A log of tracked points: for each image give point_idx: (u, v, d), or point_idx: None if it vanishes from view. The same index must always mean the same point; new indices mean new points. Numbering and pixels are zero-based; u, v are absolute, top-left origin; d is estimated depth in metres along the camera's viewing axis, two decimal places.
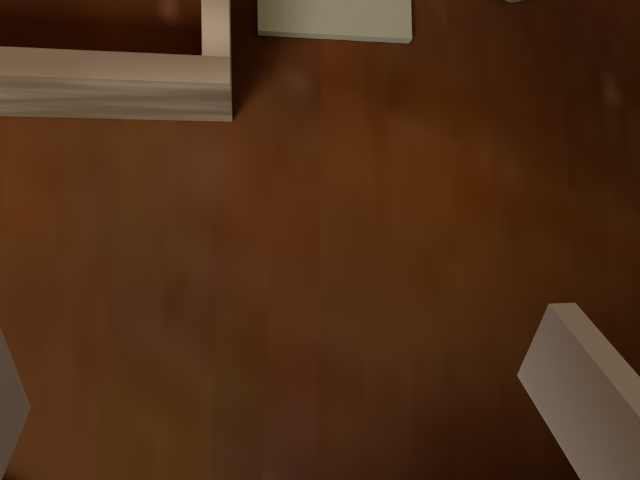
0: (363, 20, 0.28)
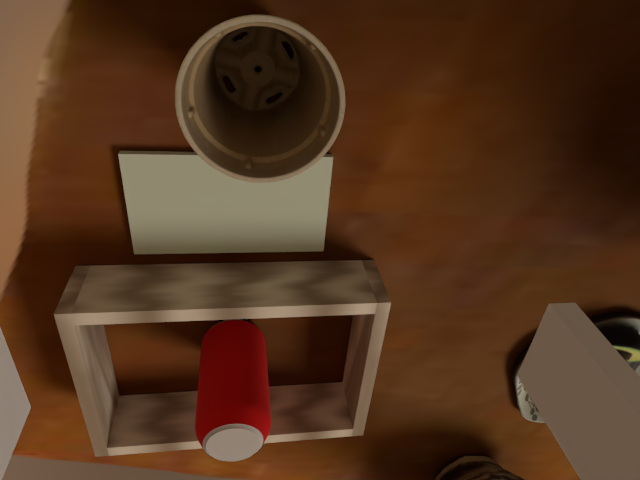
0: (318, 190, 0.40)
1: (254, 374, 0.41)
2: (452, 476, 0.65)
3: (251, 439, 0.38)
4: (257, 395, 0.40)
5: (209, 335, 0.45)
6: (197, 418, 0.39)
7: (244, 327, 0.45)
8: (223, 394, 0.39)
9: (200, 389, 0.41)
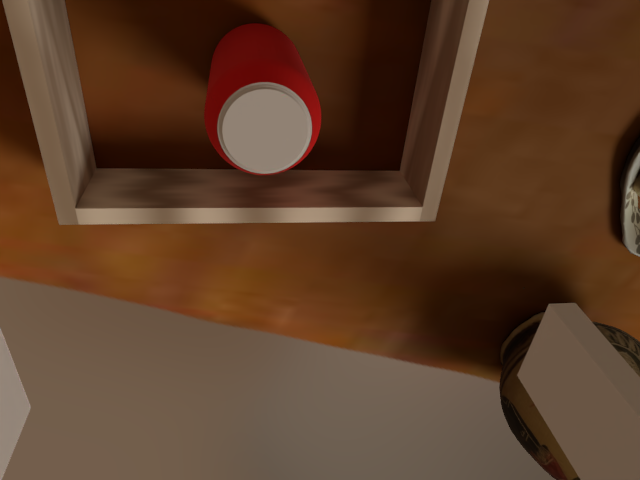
0: None
1: (294, 57, 0.27)
2: (527, 334, 0.51)
3: (294, 122, 0.24)
4: (301, 69, 0.25)
5: (223, 39, 0.31)
6: (208, 94, 0.25)
7: (274, 29, 0.31)
8: (248, 56, 0.25)
9: (212, 75, 0.27)
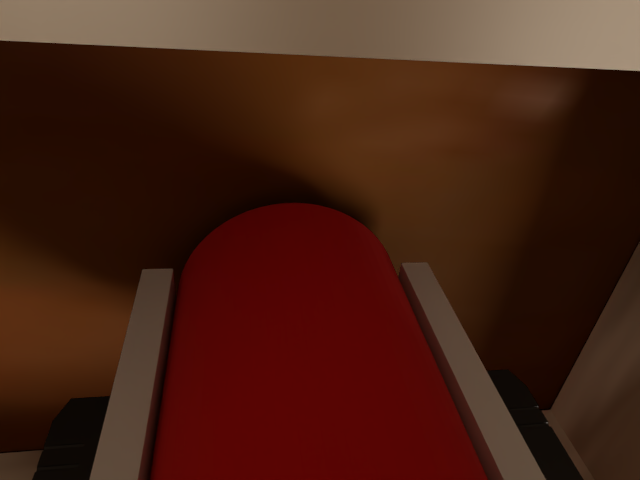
0: None
1: (440, 418, 0.08)
2: None
3: None
4: None
5: (205, 255, 0.12)
6: None
7: (338, 224, 0.12)
8: None
9: None
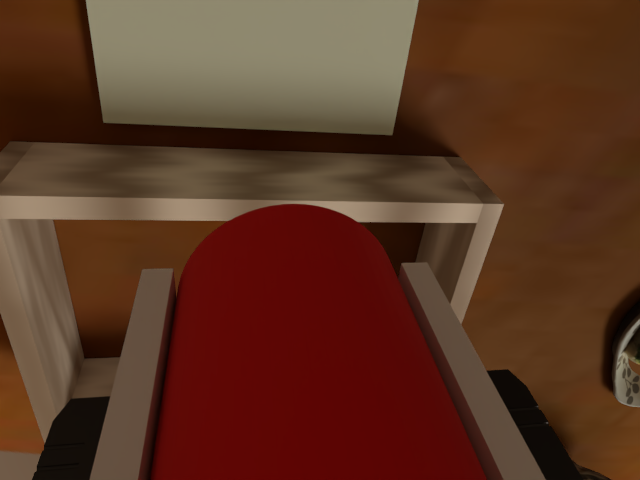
0: (397, 23, 0.25)
1: (440, 419, 0.08)
2: None
3: None
4: None
5: (205, 256, 0.12)
6: None
7: (338, 226, 0.12)
8: None
9: None
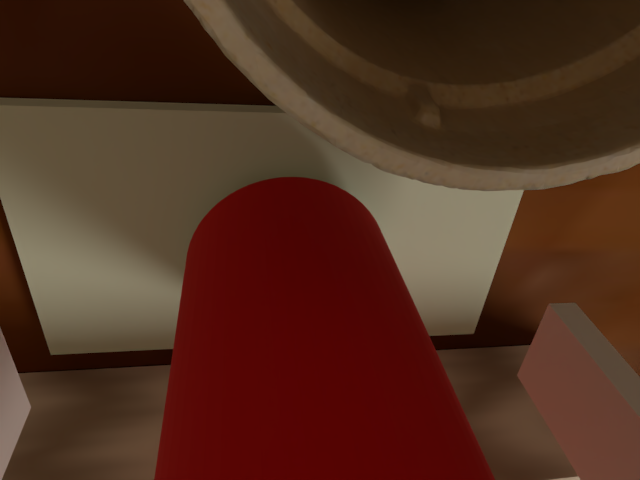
0: (494, 204, 0.16)
1: (418, 348, 0.09)
2: None
3: None
4: (468, 455, 0.07)
5: (212, 222, 0.13)
6: None
7: (332, 195, 0.13)
8: (295, 460, 0.07)
9: (171, 420, 0.09)
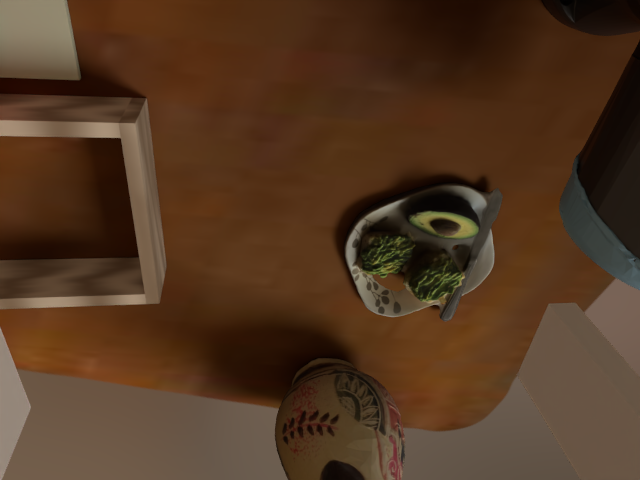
0: None
1: None
2: (301, 377, 0.61)
3: None
4: None
5: None
6: None
7: None
8: None
9: None
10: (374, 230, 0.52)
